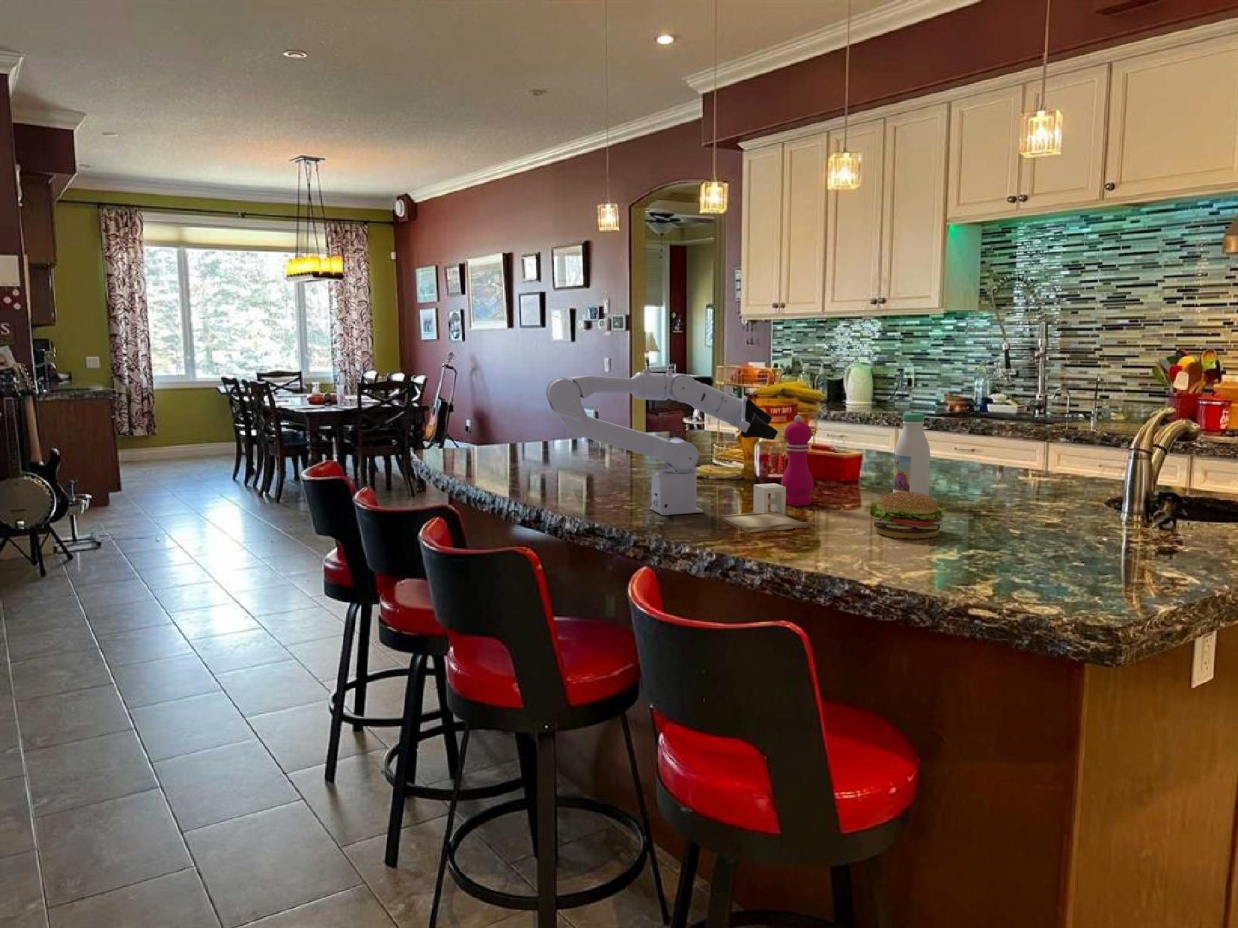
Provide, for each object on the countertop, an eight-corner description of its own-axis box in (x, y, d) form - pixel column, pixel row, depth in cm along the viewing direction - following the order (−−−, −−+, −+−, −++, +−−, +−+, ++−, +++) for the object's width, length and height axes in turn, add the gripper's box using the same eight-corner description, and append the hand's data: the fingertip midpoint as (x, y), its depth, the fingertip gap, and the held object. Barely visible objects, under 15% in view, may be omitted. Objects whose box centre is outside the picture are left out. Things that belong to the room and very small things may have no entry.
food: (951, 529, 172) (953, 489, 171) (937, 544, 160) (938, 501, 159) (880, 522, 179) (881, 484, 178) (861, 536, 167) (862, 494, 166)
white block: (763, 516, 186) (764, 488, 185) (753, 512, 191) (753, 484, 190) (785, 514, 188) (785, 486, 187) (774, 510, 192) (774, 483, 192)
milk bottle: (923, 498, 204) (927, 412, 202) (932, 504, 197) (935, 415, 194) (889, 498, 205) (892, 412, 202) (896, 504, 198) (899, 415, 195)
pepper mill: (813, 506, 196) (815, 416, 193) (780, 506, 197) (781, 416, 195) (813, 500, 203) (814, 413, 200) (781, 500, 204) (782, 413, 202)
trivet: (747, 532, 171) (747, 527, 171) (720, 519, 183) (720, 515, 183) (807, 527, 175) (807, 523, 175) (776, 515, 187) (776, 511, 187)
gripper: (730, 400, 183) (787, 426, 185) (722, 376, 196) (775, 400, 199) (714, 429, 186) (771, 453, 188) (707, 403, 199) (760, 426, 201)
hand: (772, 428), depth 194 cm, fingers open, 7 cm apart
